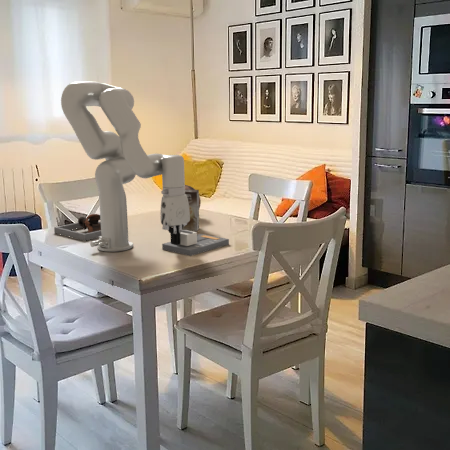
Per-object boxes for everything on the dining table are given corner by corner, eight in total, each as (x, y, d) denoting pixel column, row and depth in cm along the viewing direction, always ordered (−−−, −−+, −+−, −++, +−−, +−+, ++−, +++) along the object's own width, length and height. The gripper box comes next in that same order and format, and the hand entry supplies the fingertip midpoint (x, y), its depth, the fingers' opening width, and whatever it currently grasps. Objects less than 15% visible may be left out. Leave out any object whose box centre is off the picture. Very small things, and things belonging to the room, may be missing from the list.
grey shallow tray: (84, 241, 224) (84, 234, 223) (54, 233, 237) (54, 227, 236) (122, 232, 237) (121, 226, 237) (91, 225, 250) (91, 219, 250)
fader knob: (187, 246, 206) (186, 233, 205) (175, 243, 210) (174, 230, 209) (197, 243, 209) (196, 230, 208) (185, 240, 213) (184, 228, 212)
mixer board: (190, 256, 202) (190, 250, 201) (162, 249, 211) (162, 243, 210) (228, 244, 217) (228, 238, 216) (200, 238, 226) (200, 233, 225)
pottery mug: (109, 230, 244) (110, 215, 239) (100, 244, 237) (101, 229, 232) (81, 222, 245) (81, 207, 239) (72, 237, 238) (72, 221, 232)
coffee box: (175, 231, 238) (173, 191, 235) (177, 227, 245) (176, 189, 241) (197, 231, 237) (196, 191, 234) (199, 227, 244) (199, 189, 240)
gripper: (165, 195, 194) (167, 250, 198) (197, 189, 204) (198, 241, 208) (149, 193, 198) (152, 246, 202) (181, 187, 209) (183, 238, 213)
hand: (175, 243), depth 205 cm, fingers closed
